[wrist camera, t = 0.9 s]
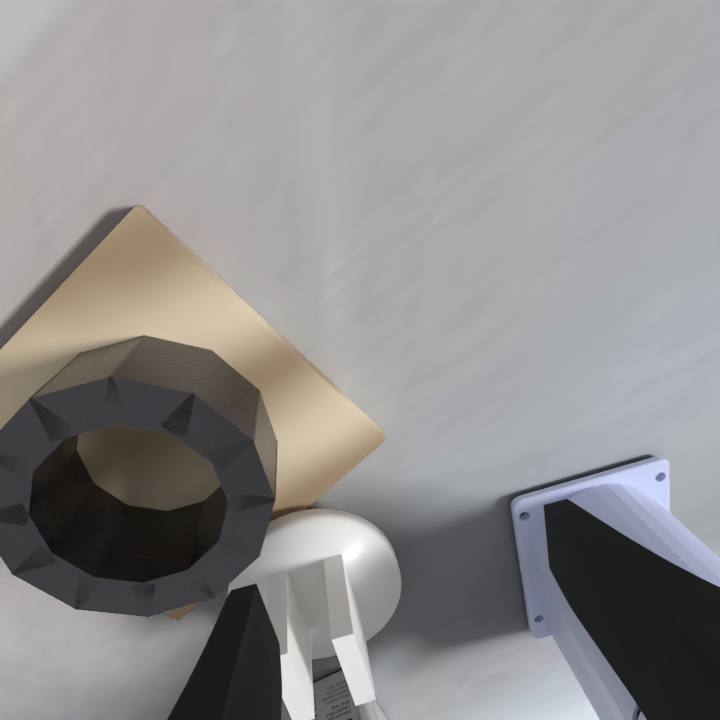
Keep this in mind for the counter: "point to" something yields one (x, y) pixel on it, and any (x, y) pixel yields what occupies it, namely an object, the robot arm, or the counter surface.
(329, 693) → the coffee box
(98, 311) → the square wooden board
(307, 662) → the white round knobbed piece
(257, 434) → the ring
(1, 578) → the counter surface
